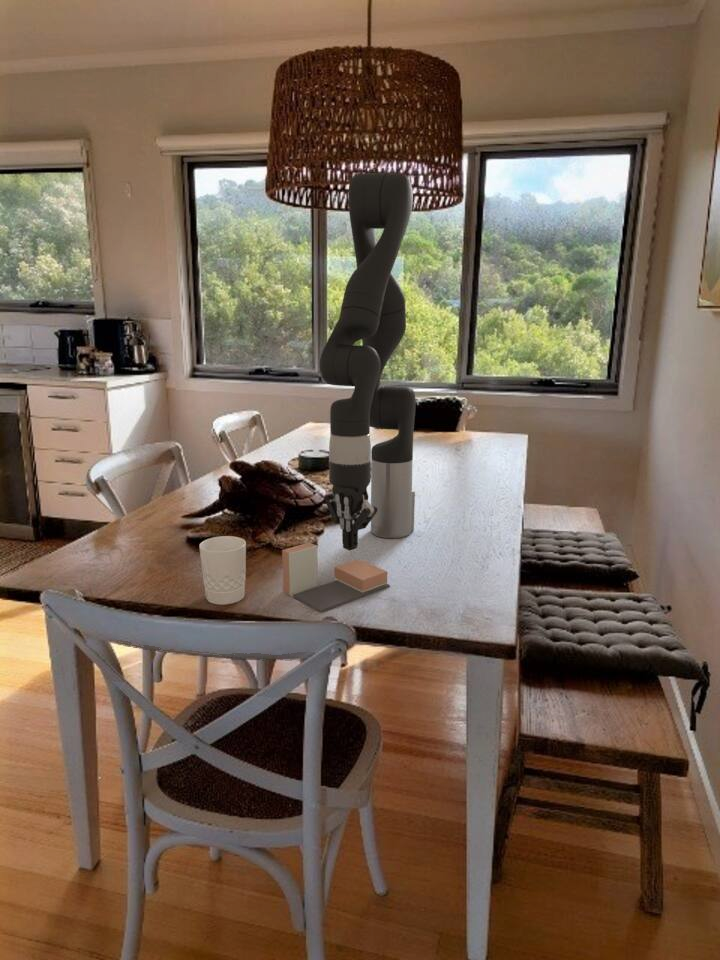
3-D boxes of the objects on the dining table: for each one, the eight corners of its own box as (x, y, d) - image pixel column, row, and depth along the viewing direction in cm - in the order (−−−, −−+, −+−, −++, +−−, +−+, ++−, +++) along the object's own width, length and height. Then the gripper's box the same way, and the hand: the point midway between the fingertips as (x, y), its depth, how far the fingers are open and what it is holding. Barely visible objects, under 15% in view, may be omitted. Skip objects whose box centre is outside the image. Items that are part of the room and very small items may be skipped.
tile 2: (358, 559, 123) (387, 571, 117) (358, 570, 123) (387, 583, 117) (334, 566, 119) (362, 580, 113) (334, 578, 119) (362, 592, 114)
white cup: (193, 599, 112) (189, 545, 109) (225, 584, 118) (223, 533, 115) (225, 610, 107) (222, 555, 105) (257, 594, 114) (255, 541, 111)
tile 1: (310, 582, 119) (309, 542, 117) (317, 586, 117) (317, 545, 115) (283, 591, 115) (282, 550, 113) (290, 596, 113) (289, 553, 111)
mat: (361, 573, 123) (361, 571, 123) (389, 586, 117) (389, 584, 117) (292, 596, 113) (292, 594, 112) (320, 612, 107) (320, 610, 107)
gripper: (390, 461, 112) (388, 553, 117) (342, 449, 122) (342, 535, 126) (358, 467, 108) (357, 563, 112) (311, 454, 117) (312, 543, 122)
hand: (349, 548), depth 119 cm, fingers closed
